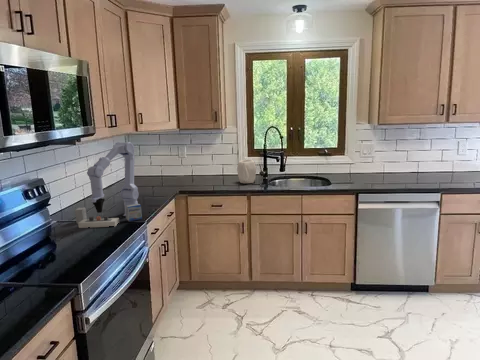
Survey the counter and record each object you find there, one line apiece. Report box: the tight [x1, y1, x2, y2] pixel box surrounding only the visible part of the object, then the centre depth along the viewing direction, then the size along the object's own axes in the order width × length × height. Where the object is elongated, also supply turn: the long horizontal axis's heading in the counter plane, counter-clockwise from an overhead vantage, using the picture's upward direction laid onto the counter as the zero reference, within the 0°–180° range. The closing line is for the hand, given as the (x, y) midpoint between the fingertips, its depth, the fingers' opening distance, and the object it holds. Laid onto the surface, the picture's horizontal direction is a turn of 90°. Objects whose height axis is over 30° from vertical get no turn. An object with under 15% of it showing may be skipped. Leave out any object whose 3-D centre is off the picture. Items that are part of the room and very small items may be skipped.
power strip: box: [77, 217, 120, 229], centre depth 208 cm, size 7×20×3 cm, turn 91°
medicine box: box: [124, 203, 143, 222], centre depth 216 cm, size 8×4×9 cm, turn 126°
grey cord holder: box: [74, 207, 88, 225], centre depth 215 cm, size 5×4×8 cm
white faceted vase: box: [236, 159, 257, 184], centre depth 314 cm, size 16×27×19 cm, turn 169°
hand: (99, 212), depth 207 cm, fingers closed
